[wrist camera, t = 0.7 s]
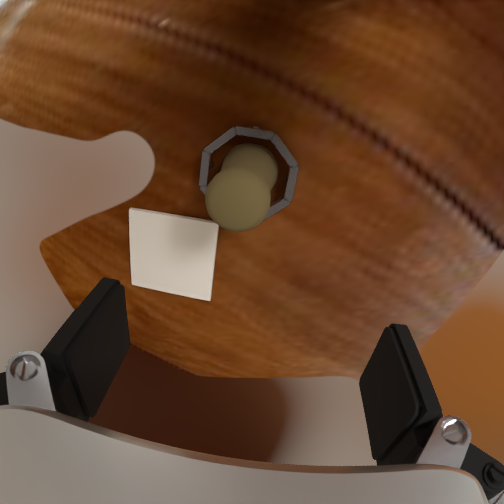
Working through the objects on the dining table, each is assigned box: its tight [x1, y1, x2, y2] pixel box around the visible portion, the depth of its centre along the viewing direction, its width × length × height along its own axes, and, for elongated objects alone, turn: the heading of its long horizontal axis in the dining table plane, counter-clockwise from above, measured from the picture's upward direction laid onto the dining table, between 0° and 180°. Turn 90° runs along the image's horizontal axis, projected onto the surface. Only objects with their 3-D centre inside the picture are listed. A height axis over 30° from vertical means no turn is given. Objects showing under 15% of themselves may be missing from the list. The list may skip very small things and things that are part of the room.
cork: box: [205, 143, 278, 232], centre depth 29 cm, size 6×6×11 cm
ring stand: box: [199, 125, 299, 221], centre depth 33 cm, size 10×10×2 cm
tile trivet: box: [129, 207, 219, 301], centre depth 39 cm, size 11×11×1 cm
